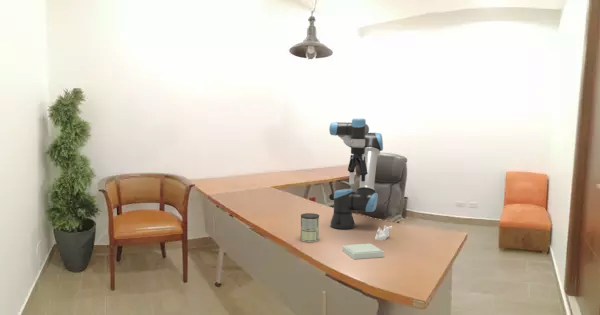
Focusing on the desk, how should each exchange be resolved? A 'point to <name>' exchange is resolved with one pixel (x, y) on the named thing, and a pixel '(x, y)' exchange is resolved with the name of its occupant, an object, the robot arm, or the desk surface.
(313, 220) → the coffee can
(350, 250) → the tray
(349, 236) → the desk surface
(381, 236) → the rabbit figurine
